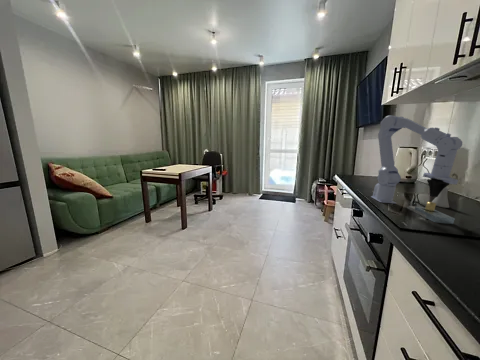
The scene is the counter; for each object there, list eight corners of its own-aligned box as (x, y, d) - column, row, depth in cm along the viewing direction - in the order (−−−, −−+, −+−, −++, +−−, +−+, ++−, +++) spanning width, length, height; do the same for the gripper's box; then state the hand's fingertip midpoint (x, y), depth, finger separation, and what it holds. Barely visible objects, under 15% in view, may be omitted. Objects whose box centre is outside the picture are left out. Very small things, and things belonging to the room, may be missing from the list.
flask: (433, 206, 103) (438, 187, 101) (428, 202, 110) (433, 184, 107) (452, 209, 100) (458, 190, 98) (445, 205, 107) (451, 187, 104)
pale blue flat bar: (407, 208, 98) (408, 203, 97) (422, 209, 97) (423, 204, 97) (434, 222, 82) (436, 216, 82) (453, 223, 82) (454, 218, 81)
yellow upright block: (421, 213, 91) (425, 201, 90) (428, 214, 91) (432, 201, 90) (427, 216, 88) (431, 203, 87) (434, 217, 88) (438, 204, 87)
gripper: (419, 162, 92) (411, 190, 95) (448, 168, 78) (438, 200, 81) (436, 163, 91) (427, 192, 94) (467, 169, 77) (456, 202, 80)
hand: (433, 196), depth 88 cm, fingers closed
